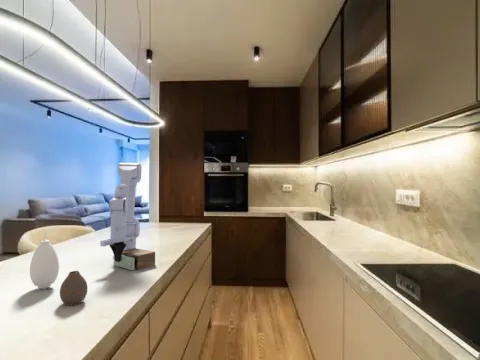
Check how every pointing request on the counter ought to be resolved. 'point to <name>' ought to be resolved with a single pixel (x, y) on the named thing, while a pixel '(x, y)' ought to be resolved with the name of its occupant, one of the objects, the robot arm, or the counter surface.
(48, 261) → the white tall ovoid
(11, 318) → the counter surface
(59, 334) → the counter surface
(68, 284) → the vase
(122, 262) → the door
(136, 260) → the brown wooden box
